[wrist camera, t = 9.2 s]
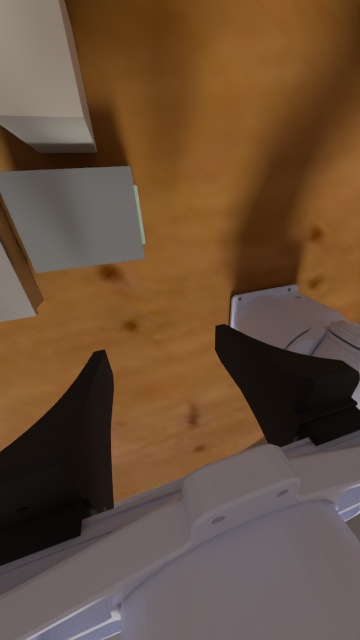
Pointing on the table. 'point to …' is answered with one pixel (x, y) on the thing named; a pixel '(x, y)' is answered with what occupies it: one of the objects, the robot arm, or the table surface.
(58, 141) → the block
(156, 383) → the table surface
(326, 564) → the robot arm
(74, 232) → the mounted modules
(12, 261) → the din rail
